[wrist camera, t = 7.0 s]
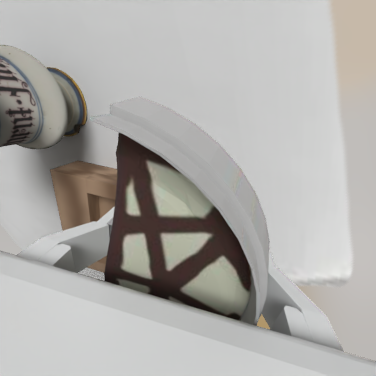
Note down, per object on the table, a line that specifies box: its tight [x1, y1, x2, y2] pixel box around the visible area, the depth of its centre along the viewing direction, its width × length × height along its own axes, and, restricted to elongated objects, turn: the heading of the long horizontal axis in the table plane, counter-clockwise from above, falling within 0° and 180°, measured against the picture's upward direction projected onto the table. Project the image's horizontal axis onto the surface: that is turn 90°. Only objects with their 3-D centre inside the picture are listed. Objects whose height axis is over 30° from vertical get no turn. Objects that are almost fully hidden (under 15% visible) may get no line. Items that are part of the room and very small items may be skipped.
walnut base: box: [50, 161, 117, 272], centre depth 32 cm, size 20×20×6 cm
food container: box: [91, 96, 270, 326], centre depth 10 cm, size 12×6×10 cm, turn 165°
